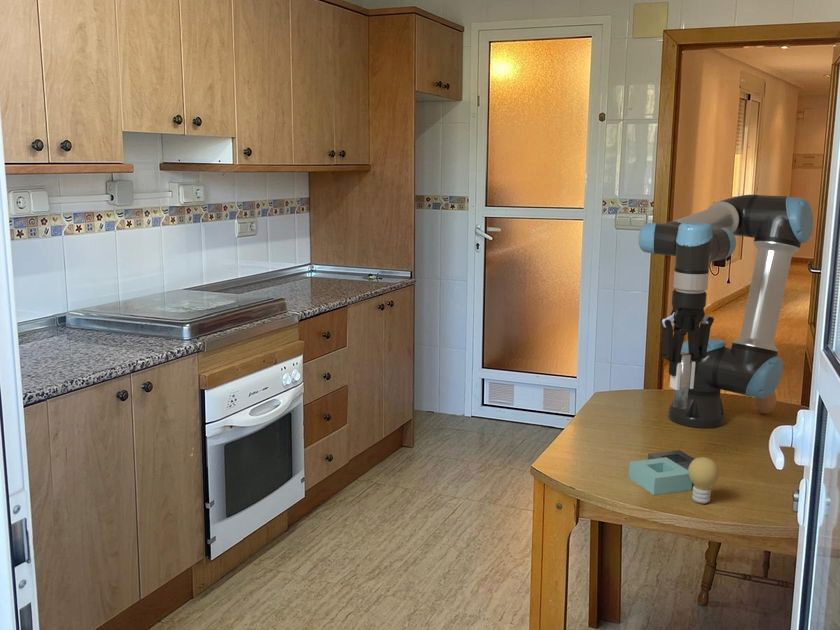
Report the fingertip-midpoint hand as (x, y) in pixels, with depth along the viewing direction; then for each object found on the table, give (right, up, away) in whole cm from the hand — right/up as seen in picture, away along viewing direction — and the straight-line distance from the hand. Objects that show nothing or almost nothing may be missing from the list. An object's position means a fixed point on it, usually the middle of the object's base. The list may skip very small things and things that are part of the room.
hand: (681, 387), depth 198 cm
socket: (-7, -22, -5) cm, 23 cm away
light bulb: (0, -24, -14) cm, 28 cm away
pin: (0, -5, +1) cm, 5 cm away
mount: (0, -20, +4) cm, 20 cm away
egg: (+39, -12, +46) cm, 62 cm away
